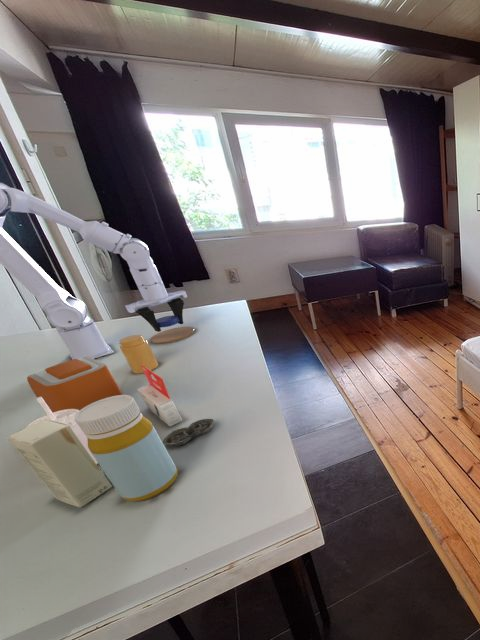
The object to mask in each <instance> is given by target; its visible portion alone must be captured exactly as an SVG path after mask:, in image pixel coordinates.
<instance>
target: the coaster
mask: <svg viewBox="0 0 480 640" xmlns="http://www.w3.org/2000/svg"><path fill="white" fill-rule="evenodd" d="M195 331H196V330H195V328H194V327H191V326H180V327H174V328H171V329H166V330H164V331H160V332H158V333H156V334H154V335H152V336H151V338H150V339H149V340H150V342H151V344H168V343H173V342H177V341H180V340H183V339H187V338H188V337H190V336H192V335H193V334H194V333H195Z"/></svg>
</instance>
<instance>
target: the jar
mask: <svg viewBox="0 0 480 640" xmlns="http://www.w3.org/2000/svg"><path fill="white" fill-rule="evenodd" d="M118 344H119V345H120V346H119V349H120V351H121V353H122V354H123V356H124V359H125V361H126V362H127V364H128V366H129V369H130V370H131V371H132V373H133V374H145V373H144V371H143V369H142V367H141V365H143V366H144V367H146V368H147V369H149V370H151V371H153V370H155V369H157V368H158V367H159V363H158V360H157V358H156V357H155V354H154V352H153V350H152V348H151V347H150V344H149V342H148V340H147V339H145V338H144V336H143V335H142V334H134V335H128V336H126V337H123V338H120V339H119V340H118Z"/></svg>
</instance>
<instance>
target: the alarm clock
mask: <svg viewBox="0 0 480 640" xmlns="http://www.w3.org/2000/svg"><path fill="white" fill-rule="evenodd" d="M26 379H27V383H28V385H29V387H30V389H31V391H32V392H33V394H34V395H35V397H36V398H38V397H42V398H43V400H44V401H45V403H46V404H47V405H48V407H49V408H50V410H51V411H52V413H53V412H57V411H61V410H66V409H78V410H79V411H80V410H81V409H83V408H84V407H86V406H88V405H90V404H92V403H94V402H96V401H99V400H102V399H105V398H108V397H112V396H117V395H124V392H123V391H122V389H121V388H120V386H119V385H118V383H117V381H116V380H115V378H114V376H113V374H112V373H111V371H110V369H109V367H108V365H106V363H104V362H102V361H100V360H97V359H96V358H94V359H93V358H90V357H83V358H80V359H73V360H72V359H70V360H67V361H64V362H61V363H58V364H55V365H52V366H49V367H45V369H44V370H42V371H38V372H35V373H32V374H30V375H28V376H27V377H26Z"/></svg>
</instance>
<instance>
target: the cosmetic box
mask: <svg viewBox="0 0 480 640" xmlns="http://www.w3.org/2000/svg"><path fill="white" fill-rule="evenodd" d="M6 439H7V440H8V441H9V442H10V444H11V445H12V447H14V449H15V450H16V451H17V452H18V453H19V455H20V456H21V457H22V459H23V460H24V461H25V462H26V463H27V465H28V466H29V467H30V468H31V469H32V471H33V472H34V473H35V474H36V476H37V477H38V478H39V479H40V480H41V482H42V483H43V485H44V486H45V487H46V488H47V489H48V490H49V492H50V493H51V494H52V495H53V496H54V497H55V499H56V500H58V501H60V502H62V503H65V504H68V505H71V506H74V507H77V508H82V507H84V506H85V505H87V504H89V503H90V502H92V501H93V500H94V499H96V498H97V497H99V496H100V495H102V494H104V493H105V492H107V491H108V490H109V489H111V488H112V487H113V484H112V483H111V482H110V480H108V479H107V478H108V477H106V476H105V473H103V472H102V470H101V469H100V468H99V467H100V466H98V464H96V463H95V462H94V460H93V459H92V457H91V456H90V455H89V453H88V452H87V450H86V449H85V448H84V446H83V445H82V443H81V442H80V441H79V439H78V438H77V436H76V435H75V433H74V432H73V431H72V429H71V428H70V426H69V425H67V424H64V423H60V422H56V421H51V420H46V419H45V420H43V421H41V422H38V423H36V424H34V425H32V426H30V427H28V428H26V427H24V428H23V429H21V430H19V431H17V432H14V433H12V434H10V435H8V436H7V437H6Z"/></svg>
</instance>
